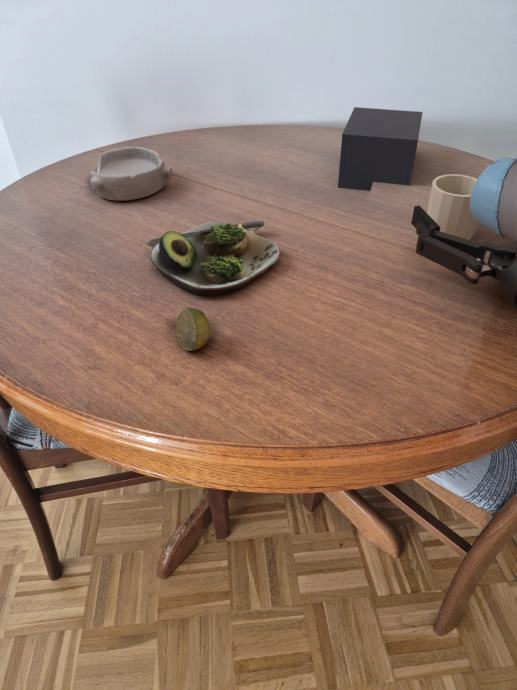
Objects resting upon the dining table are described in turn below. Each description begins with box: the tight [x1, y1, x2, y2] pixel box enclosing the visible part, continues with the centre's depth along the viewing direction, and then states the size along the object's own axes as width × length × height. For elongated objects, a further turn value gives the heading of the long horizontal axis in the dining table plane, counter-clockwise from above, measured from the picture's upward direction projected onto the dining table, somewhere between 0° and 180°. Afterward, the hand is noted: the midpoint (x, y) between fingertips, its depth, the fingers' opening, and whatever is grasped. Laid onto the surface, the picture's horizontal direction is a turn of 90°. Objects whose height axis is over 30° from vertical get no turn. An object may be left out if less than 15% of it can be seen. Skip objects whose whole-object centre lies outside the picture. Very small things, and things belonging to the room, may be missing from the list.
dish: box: [89, 146, 173, 202], centre depth 99 cm, size 14×14×5 cm
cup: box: [425, 173, 479, 241], centre depth 81 cm, size 7×7×9 cm
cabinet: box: [337, 106, 423, 191], centre depth 99 cm, size 15×13×10 cm
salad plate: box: [145, 220, 281, 297], centre depth 80 cm, size 19×18×5 cm
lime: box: [175, 307, 212, 352], centre depth 64 cm, size 4×5×5 cm
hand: (458, 208), depth 79 cm, fingers open, 13 cm apart
